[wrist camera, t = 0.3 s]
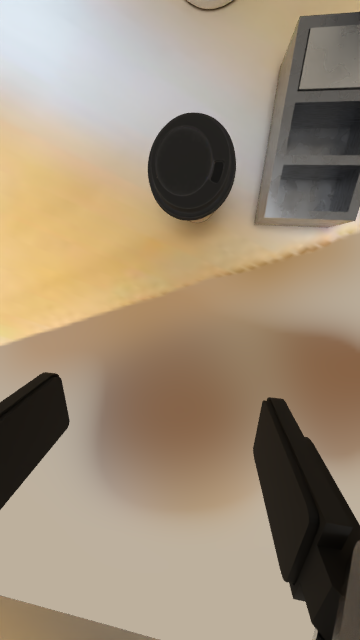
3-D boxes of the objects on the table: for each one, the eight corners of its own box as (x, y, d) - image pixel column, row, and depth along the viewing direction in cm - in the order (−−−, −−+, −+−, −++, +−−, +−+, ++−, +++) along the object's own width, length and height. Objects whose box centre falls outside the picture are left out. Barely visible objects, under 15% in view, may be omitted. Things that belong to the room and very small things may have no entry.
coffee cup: (228, 226, 33) (244, 203, 19) (176, 239, 35) (155, 227, 21) (220, 163, 31) (231, 83, 17) (164, 180, 33) (131, 122, 18)
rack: (280, 67, 26) (300, 14, 21) (376, 63, 25) (427, 4, 19) (254, 224, 33) (264, 217, 27) (330, 227, 31) (358, 220, 26)
